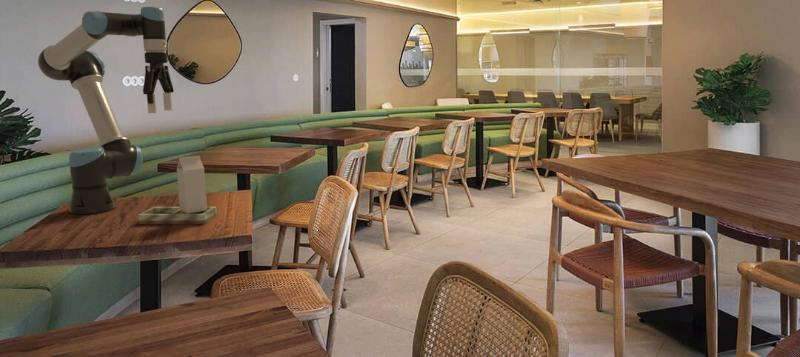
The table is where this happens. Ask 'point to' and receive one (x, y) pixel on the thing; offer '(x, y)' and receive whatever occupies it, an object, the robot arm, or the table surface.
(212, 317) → the table surface
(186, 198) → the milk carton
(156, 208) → the board
